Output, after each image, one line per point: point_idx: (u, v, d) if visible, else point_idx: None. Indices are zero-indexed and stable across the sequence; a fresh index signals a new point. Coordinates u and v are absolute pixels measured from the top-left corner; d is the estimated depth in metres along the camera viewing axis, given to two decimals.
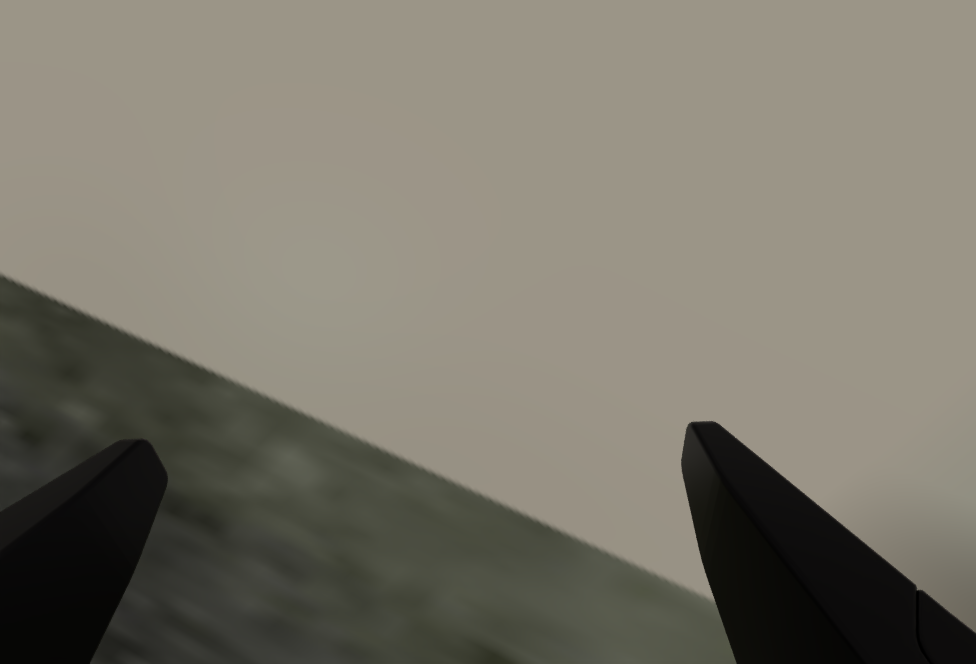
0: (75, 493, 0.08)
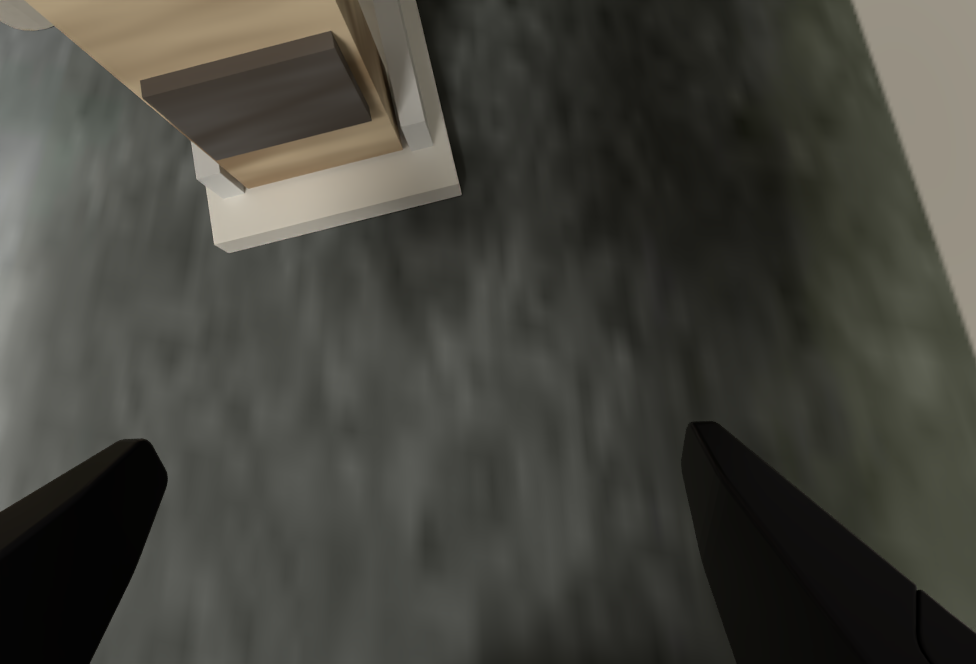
0: (75, 493, 0.08)
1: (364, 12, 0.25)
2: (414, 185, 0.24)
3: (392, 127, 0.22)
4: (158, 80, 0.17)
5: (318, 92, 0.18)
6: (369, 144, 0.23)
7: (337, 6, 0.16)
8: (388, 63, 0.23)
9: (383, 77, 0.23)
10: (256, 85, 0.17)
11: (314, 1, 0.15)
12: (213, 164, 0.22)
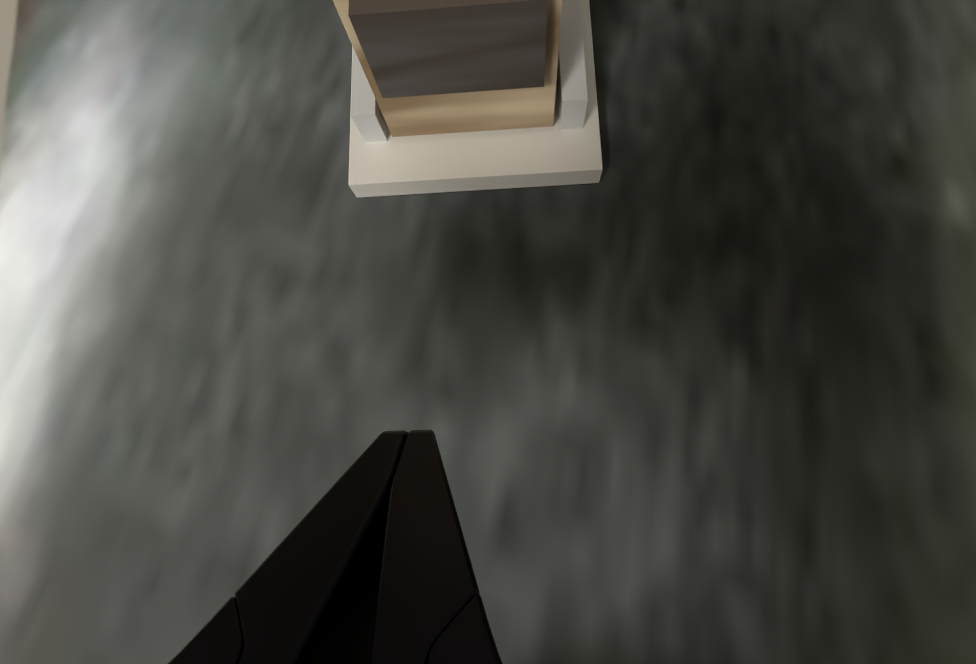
0: (381, 485, 0.08)
1: None
2: (557, 163, 0.24)
3: (554, 100, 0.22)
4: (367, 1, 0.17)
5: (509, 44, 0.18)
6: (524, 113, 0.23)
7: None
8: (559, 38, 0.23)
9: None
10: (457, 24, 0.17)
11: None
12: (369, 105, 0.23)
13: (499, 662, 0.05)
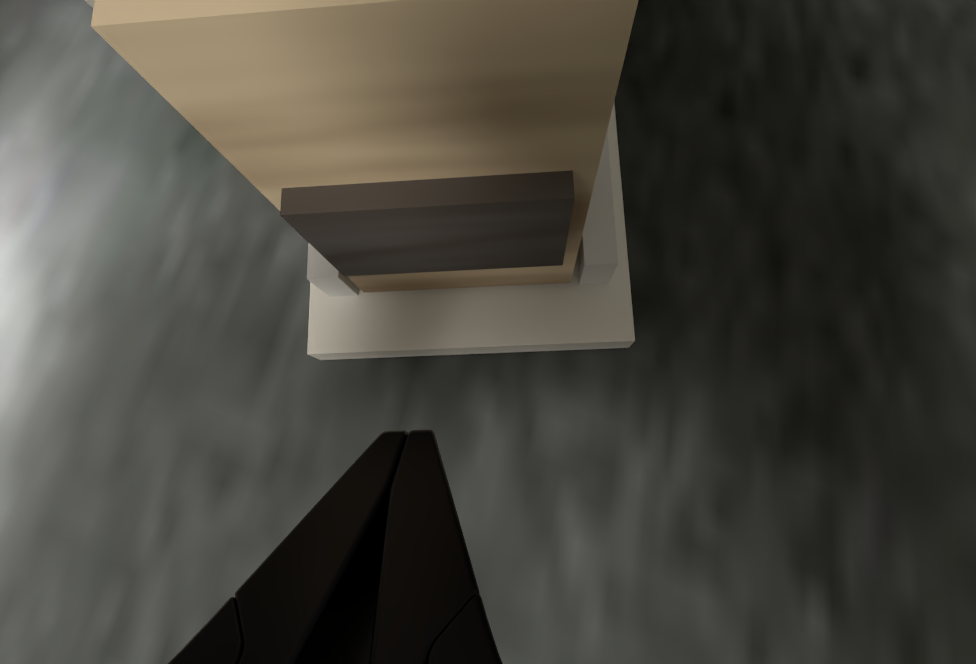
0: (381, 486, 0.08)
1: None
2: (576, 330, 0.18)
3: (573, 263, 0.17)
4: (308, 194, 0.11)
5: (517, 235, 0.13)
6: (534, 274, 0.17)
7: (602, 147, 0.10)
8: None
9: None
10: (441, 220, 0.12)
11: (575, 137, 0.10)
12: (331, 264, 0.17)
13: (499, 662, 0.05)
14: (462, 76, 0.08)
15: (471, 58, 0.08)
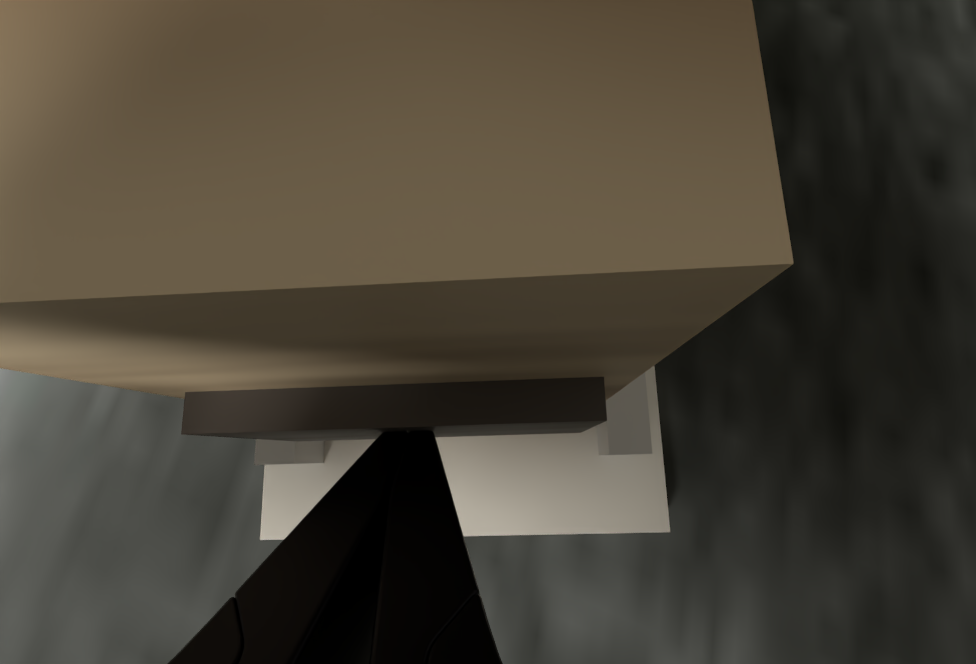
0: (381, 486, 0.08)
1: None
2: (596, 517, 0.15)
3: None
4: (222, 403, 0.08)
5: (522, 429, 0.09)
6: None
7: (651, 365, 0.07)
8: None
9: None
10: (415, 429, 0.08)
11: (613, 362, 0.06)
12: (285, 445, 0.14)
13: (499, 662, 0.05)
14: (433, 335, 0.05)
15: (445, 324, 0.04)
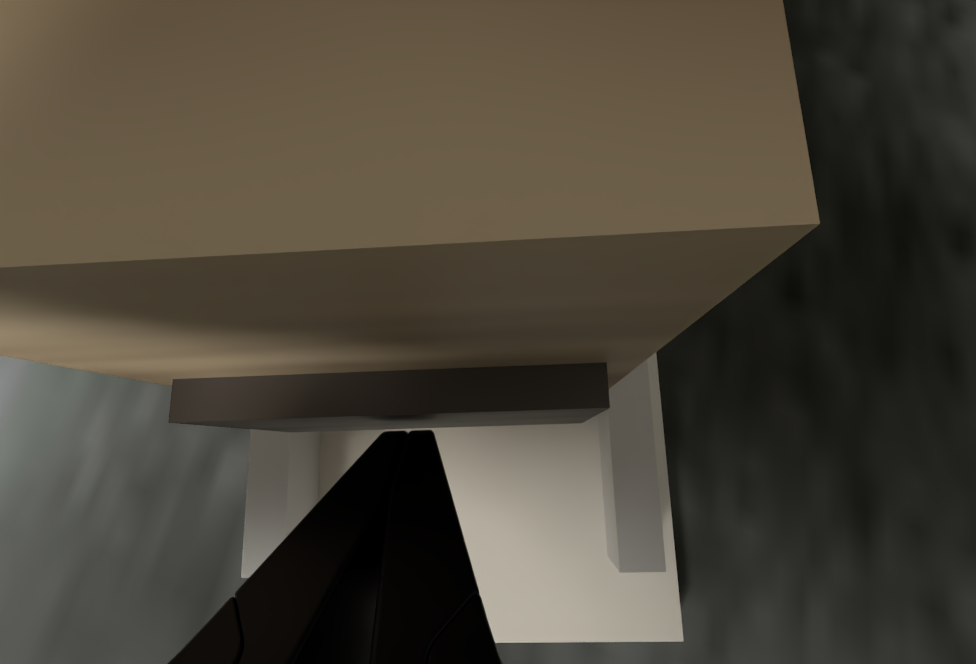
0: (381, 486, 0.08)
1: None
2: (604, 623, 0.14)
3: None
4: (210, 390, 0.08)
5: (521, 418, 0.09)
6: None
7: (656, 349, 0.07)
8: (612, 436, 0.13)
9: None
10: (411, 418, 0.08)
11: (617, 345, 0.06)
12: None
13: (499, 662, 0.05)
14: (426, 312, 0.04)
15: (441, 299, 0.04)
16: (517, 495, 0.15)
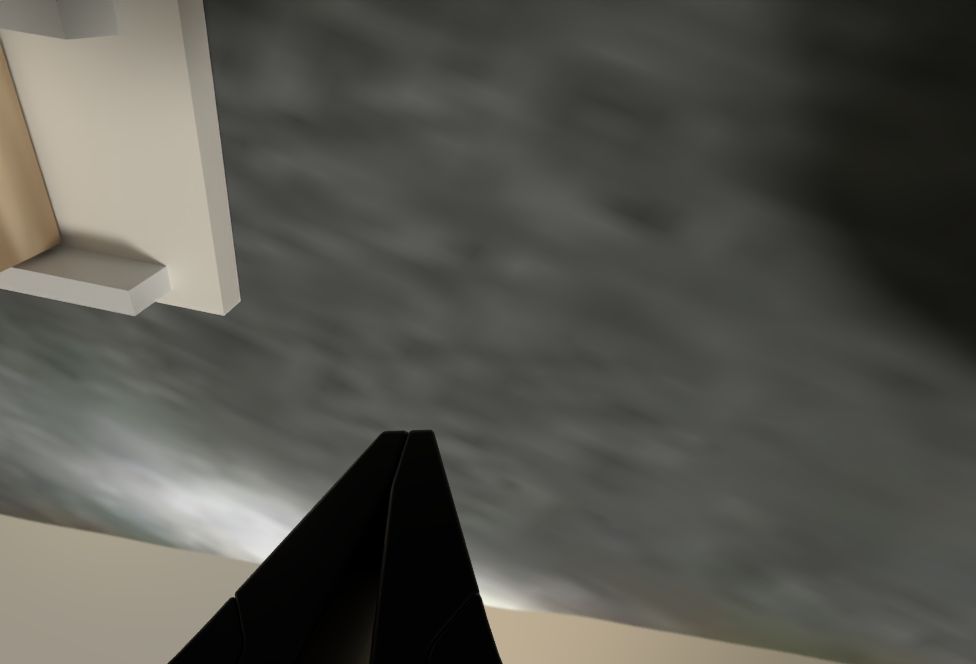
0: (381, 485, 0.08)
1: None
2: (171, 50, 0.16)
3: None
4: None
5: None
6: None
7: None
8: None
9: None
10: None
11: None
12: (118, 294, 0.19)
13: (499, 662, 0.05)
14: None
15: None
16: (90, 105, 0.18)
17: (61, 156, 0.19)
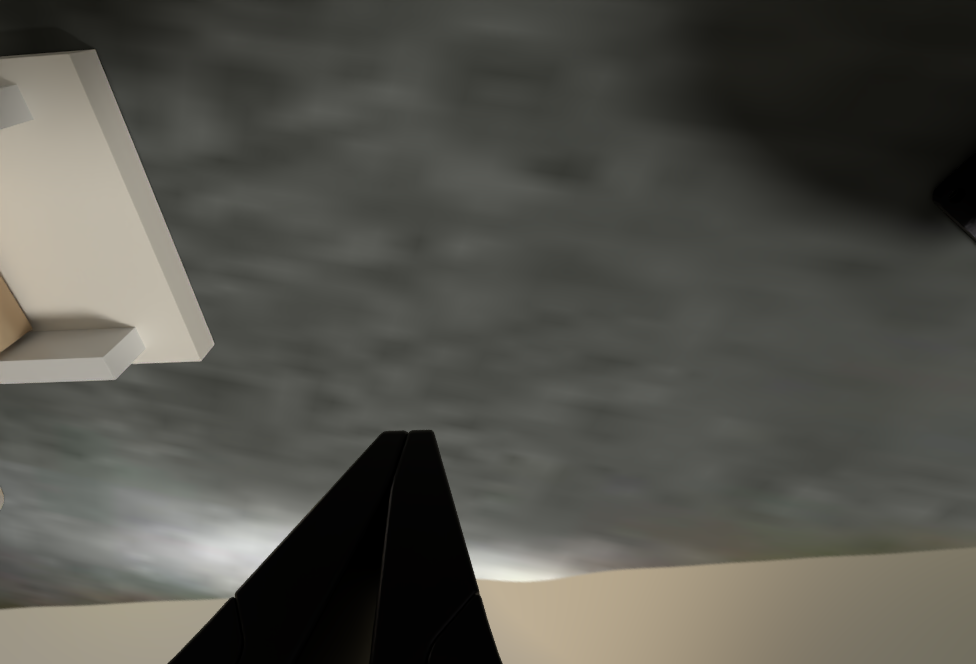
0: (381, 486, 0.08)
1: None
2: (85, 122, 0.17)
3: None
4: None
5: None
6: None
7: None
8: None
9: None
10: None
11: None
12: (94, 363, 0.20)
13: (499, 662, 0.05)
14: None
15: None
16: (24, 192, 0.18)
17: (11, 247, 0.19)
